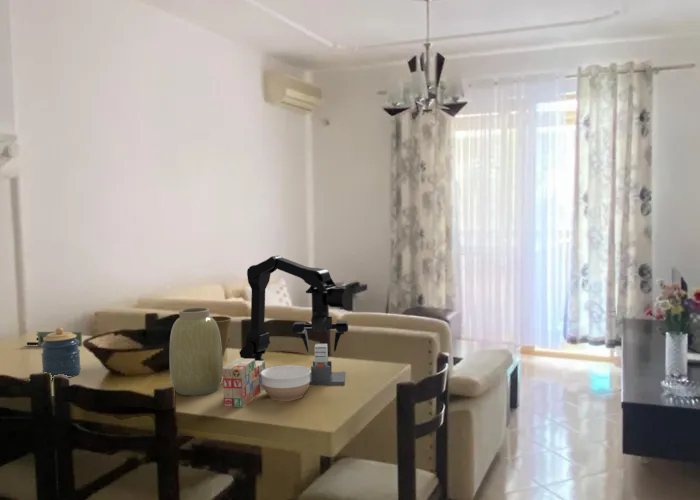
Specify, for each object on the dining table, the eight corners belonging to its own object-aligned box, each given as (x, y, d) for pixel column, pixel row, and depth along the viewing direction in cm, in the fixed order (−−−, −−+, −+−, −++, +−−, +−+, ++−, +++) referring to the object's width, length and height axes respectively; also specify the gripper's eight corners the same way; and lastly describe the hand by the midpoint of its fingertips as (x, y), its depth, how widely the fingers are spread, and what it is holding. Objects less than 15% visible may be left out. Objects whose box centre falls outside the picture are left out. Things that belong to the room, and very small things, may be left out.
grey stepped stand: (297, 385, 219) (296, 365, 218) (301, 375, 231) (300, 356, 230) (344, 385, 218) (344, 364, 218) (345, 375, 230) (345, 355, 230)
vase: (179, 382, 225) (176, 306, 223) (228, 382, 225) (225, 305, 223) (163, 398, 208) (160, 315, 206) (217, 397, 208) (213, 314, 206)
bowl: (316, 400, 203) (316, 375, 202) (265, 405, 198) (264, 380, 198) (305, 386, 218) (304, 363, 217) (257, 391, 214) (257, 367, 213)
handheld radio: (79, 347, 286) (25, 347, 288) (82, 345, 289) (29, 345, 292) (78, 332, 286) (24, 332, 288) (82, 330, 289) (28, 331, 291)
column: (315, 371, 220) (314, 347, 220) (316, 367, 225) (315, 343, 225) (327, 371, 220) (326, 347, 219) (328, 367, 225) (327, 343, 225)
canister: (80, 368, 248) (77, 322, 246) (82, 376, 236) (79, 328, 235) (42, 373, 242) (39, 326, 241) (42, 381, 231) (39, 332, 229)
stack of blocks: (248, 387, 219) (247, 351, 218) (266, 388, 217) (265, 351, 217) (223, 407, 198) (222, 367, 197) (242, 408, 197) (241, 368, 196)
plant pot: (239, 358, 259) (238, 318, 257) (205, 365, 249) (204, 324, 248) (221, 352, 270) (219, 314, 269) (187, 358, 260) (186, 319, 259)
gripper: (290, 311, 213) (291, 357, 215) (346, 309, 213) (347, 356, 214) (293, 305, 224) (295, 349, 226) (347, 304, 224) (348, 349, 225)
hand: (321, 351), depth 222 cm, fingers open, 9 cm apart
